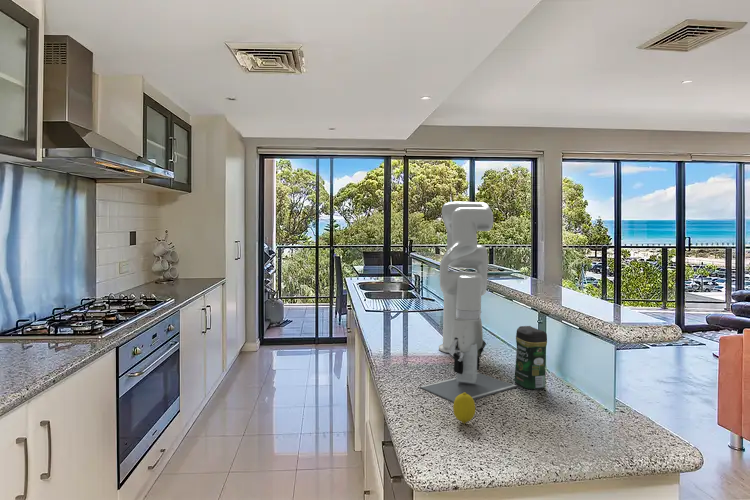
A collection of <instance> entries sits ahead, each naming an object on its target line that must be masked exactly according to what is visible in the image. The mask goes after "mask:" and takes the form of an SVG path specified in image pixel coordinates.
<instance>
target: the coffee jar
mask: <svg viewBox="0 0 750 500" xmlns="http://www.w3.org/2000/svg"><path fill="white" fill-rule="evenodd" d="M515 333H516V335H515V341H516V343H515V344H516V354H515V355H516V356H515V366H514V367H515V368H514V379H513V380H514V382H515V383H516V384H517V385H519V386H521V387H523V388H525V389H527V390H529V389H530V390H534V391H535V390H536V389H537V390H541V389H543V388H545V387H546V348H547V345H548V335H547V332H545V331H544V330H541V329H538V328H536V327H533V326H531V325H523V326H521V325H520V326H519V327H518V328H517V329H516V332H515ZM537 390H536V391H537Z"/></svg>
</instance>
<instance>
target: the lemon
mask: <svg viewBox="0 0 750 500" xmlns="http://www.w3.org/2000/svg"><path fill="white" fill-rule="evenodd" d="M452 407H453V408H452V409H453V415H454V417H455V418H456V420H458V421H460V422H461V423H462V424H466V423H468V422H470V421H471V420H473V418H474V417H475V414H476V402H475V400H473V398H472V397H471V396H470V395H468V394H467V393H465V392H464V393H462V394H460V395H458V396H457V397H456V398H455V401H454V403H453V406H452Z"/></svg>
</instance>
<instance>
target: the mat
mask: <svg viewBox="0 0 750 500" xmlns="http://www.w3.org/2000/svg"><path fill="white" fill-rule="evenodd" d="M517 387H518V386H517V385H516V384H513V383H509V382H506V381H504V380H500V379H498V378H495V377H492V376H489V375H486V374H484V373H481V372H478V371H477V380H476V382H475V383H468V382H459V381H456V377H454V378H453V377H452V378H450V379H446V380H441V381H439V382H438V381H437V382H435V383H434V382H433V383H428V384H424V385H421V386H419V389H421V390H424V391H426V392H428V393H431V394H433V395H435V396H438V397H439V398H441V399H442V398H443V399H444V400H447V401H449V402H452V403H453V404H454V401H455V398H456V397H457V396H458V395H460V394H462V393H464V392H465V393H467V394H468V395H470V396H471V397H472V398H473V400H474V401H475V400H478V399H481V398H484V397H488V396H491V395H494V394H498V393H502V392H506V391H508V390H511V389H512V390H513V389H514V388H517Z"/></svg>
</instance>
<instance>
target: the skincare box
mask: <svg viewBox="0 0 750 500" xmlns="http://www.w3.org/2000/svg"><path fill="white" fill-rule="evenodd" d="M458 350H460V348H458ZM459 354H460V353H459V352H458V356H459ZM462 361H463V374H459V373H456V372H455V373H456V375H455V376H456V377H455V378H456V381H459V382H468V383H475V382H476V380H477V373H478V370H477V344H474V345H471V348H470V351H468V352H464V355H463V358H462Z"/></svg>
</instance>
